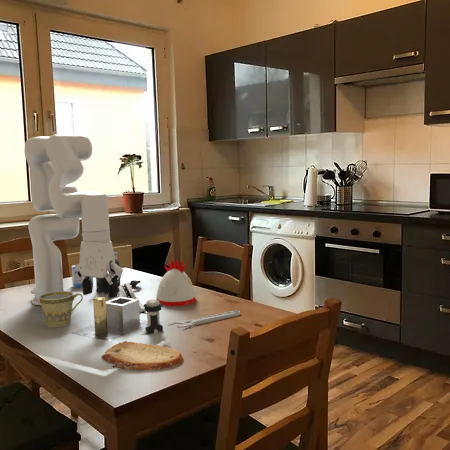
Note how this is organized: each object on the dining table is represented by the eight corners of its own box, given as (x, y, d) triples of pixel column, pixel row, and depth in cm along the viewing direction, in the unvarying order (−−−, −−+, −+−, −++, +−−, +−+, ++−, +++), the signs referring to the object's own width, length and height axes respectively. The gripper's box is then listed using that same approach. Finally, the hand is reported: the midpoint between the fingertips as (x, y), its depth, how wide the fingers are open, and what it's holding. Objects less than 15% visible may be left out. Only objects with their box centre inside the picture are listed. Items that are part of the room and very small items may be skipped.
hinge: (147, 314, 171) (135, 287, 168) (133, 320, 169) (121, 293, 167) (139, 301, 186) (128, 276, 184) (126, 307, 185) (116, 282, 183)
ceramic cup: (45, 334, 153) (43, 301, 152) (38, 325, 162) (35, 294, 160) (89, 325, 160) (87, 294, 159) (79, 317, 169) (77, 287, 167)
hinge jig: (71, 336, 151) (69, 309, 150) (116, 318, 167) (114, 294, 166) (110, 344, 143) (108, 316, 142) (152, 324, 160) (151, 299, 159)
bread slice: (189, 364, 130) (188, 349, 130) (121, 382, 120) (120, 366, 120) (157, 343, 145) (157, 330, 145) (95, 358, 135) (94, 344, 135)
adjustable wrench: (237, 314, 171) (237, 309, 170) (247, 319, 165) (247, 314, 165) (166, 327, 158) (166, 321, 158) (175, 333, 153) (175, 327, 153)
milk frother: (90, 291, 202) (88, 254, 200) (120, 283, 214) (118, 247, 212) (116, 296, 194) (114, 257, 192) (145, 287, 206) (144, 250, 204)
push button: (145, 340, 147) (143, 305, 145) (137, 335, 151) (136, 301, 150) (166, 335, 150) (165, 301, 149) (158, 330, 155) (157, 297, 153)
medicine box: (73, 288, 207) (72, 267, 206) (72, 285, 211) (71, 265, 210) (93, 286, 210) (92, 265, 209) (92, 283, 214) (91, 263, 213)
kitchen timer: (186, 307, 178) (184, 264, 176) (150, 304, 182) (148, 262, 180) (201, 297, 191) (200, 257, 189) (166, 294, 195) (165, 255, 193)
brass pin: (92, 333, 150) (90, 299, 149) (101, 329, 153) (99, 296, 152) (101, 335, 148) (99, 301, 147) (110, 331, 152) (108, 298, 150)
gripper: (64, 237, 148) (68, 295, 150) (110, 239, 140) (113, 302, 141) (84, 233, 155) (87, 290, 157) (128, 236, 146) (131, 295, 148)
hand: (100, 295), depth 149 cm, fingers open, 9 cm apart
